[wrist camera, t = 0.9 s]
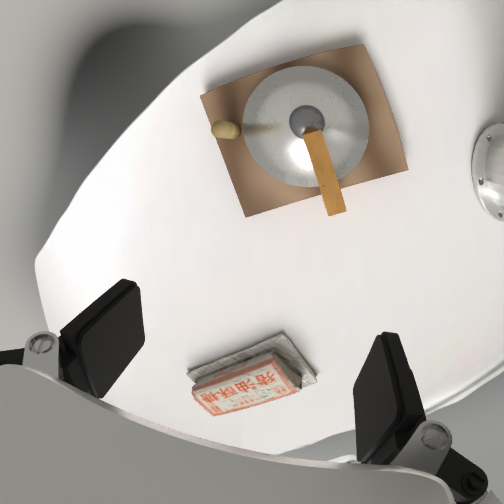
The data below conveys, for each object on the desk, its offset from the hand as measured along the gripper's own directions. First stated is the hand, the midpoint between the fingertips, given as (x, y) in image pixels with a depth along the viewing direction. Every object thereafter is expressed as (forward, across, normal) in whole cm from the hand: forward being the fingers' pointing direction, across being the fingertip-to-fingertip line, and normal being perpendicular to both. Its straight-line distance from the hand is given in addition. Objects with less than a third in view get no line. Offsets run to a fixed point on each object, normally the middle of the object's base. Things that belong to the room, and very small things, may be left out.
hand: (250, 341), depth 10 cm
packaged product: (+23, +2, +26) cm, 35 cm away
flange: (+21, -1, -8) cm, 22 cm away
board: (+23, 0, -9) cm, 25 cm away
